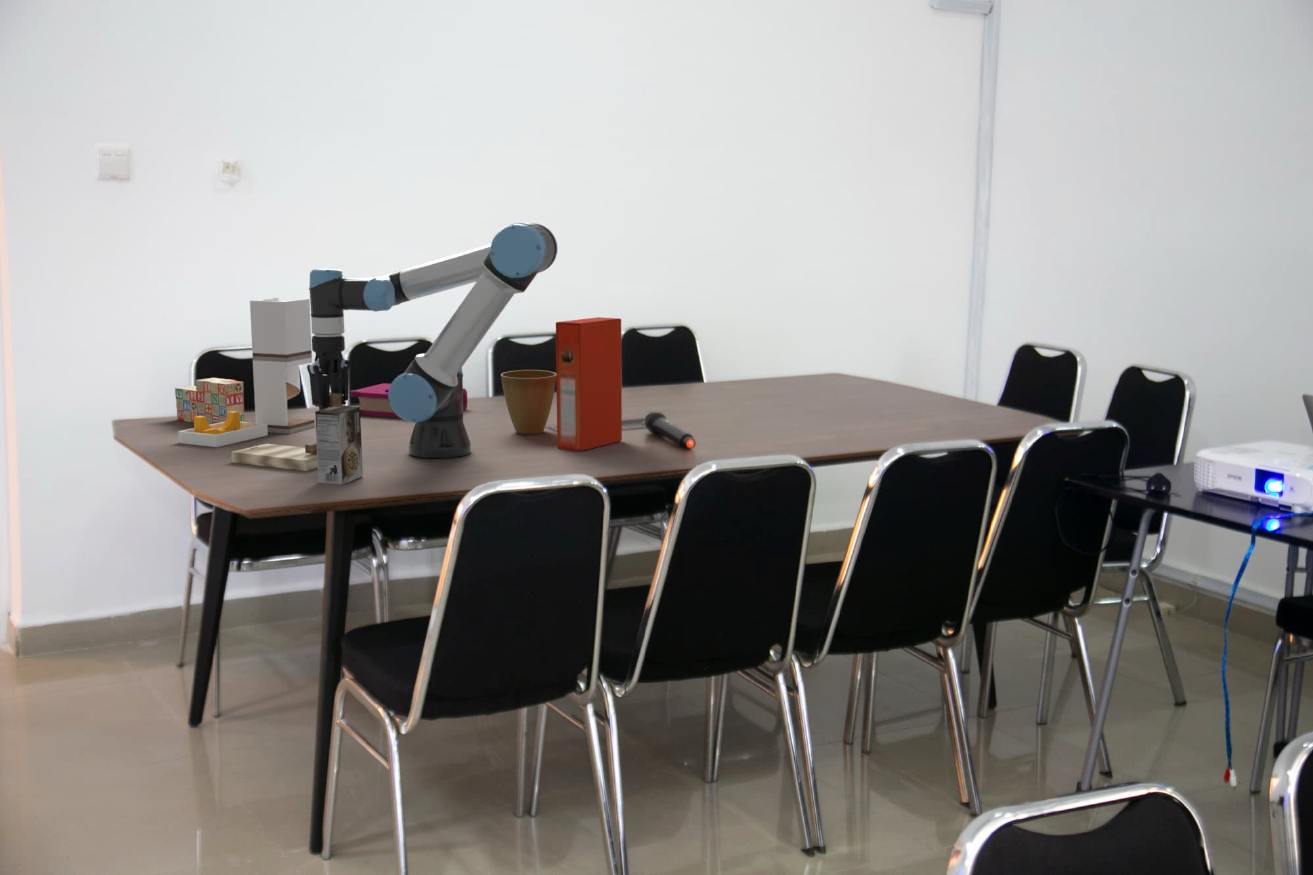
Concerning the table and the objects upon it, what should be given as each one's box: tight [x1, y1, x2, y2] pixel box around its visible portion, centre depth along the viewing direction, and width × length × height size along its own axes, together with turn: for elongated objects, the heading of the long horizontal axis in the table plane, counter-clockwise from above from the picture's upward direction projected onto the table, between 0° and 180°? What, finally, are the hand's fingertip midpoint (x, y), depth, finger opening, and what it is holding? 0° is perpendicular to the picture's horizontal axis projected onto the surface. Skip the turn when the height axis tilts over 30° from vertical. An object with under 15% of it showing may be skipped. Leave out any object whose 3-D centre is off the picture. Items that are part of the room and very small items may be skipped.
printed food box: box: [314, 404, 364, 486], centre depth 283 cm, size 9×6×16 cm
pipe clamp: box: [193, 411, 240, 435], centre depth 332 cm, size 12×4×6 cm, turn 144°
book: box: [349, 383, 468, 418], centre depth 376 cm, size 21×28×8 cm
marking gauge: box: [304, 391, 341, 454], centre depth 301 cm, size 5×10×16 cm, turn 155°
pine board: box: [230, 443, 318, 472], centre depth 303 cm, size 22×12×3 cm, turn 65°
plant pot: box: [500, 369, 557, 435], centre depth 343 cm, size 15×15×16 cm
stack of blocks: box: [174, 377, 246, 425], centre depth 355 cm, size 21×6×12 cm, turn 58°
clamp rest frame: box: [177, 421, 269, 448], centre depth 331 cm, size 13×19×3 cm
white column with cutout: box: [249, 297, 316, 435], centre depth 343 cm, size 11×11×35 cm
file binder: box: [555, 316, 623, 452], centre depth 325 cm, size 8×17×32 cm, turn 146°
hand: (331, 432), depth 305 cm, fingers closed on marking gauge, 3 cm apart
